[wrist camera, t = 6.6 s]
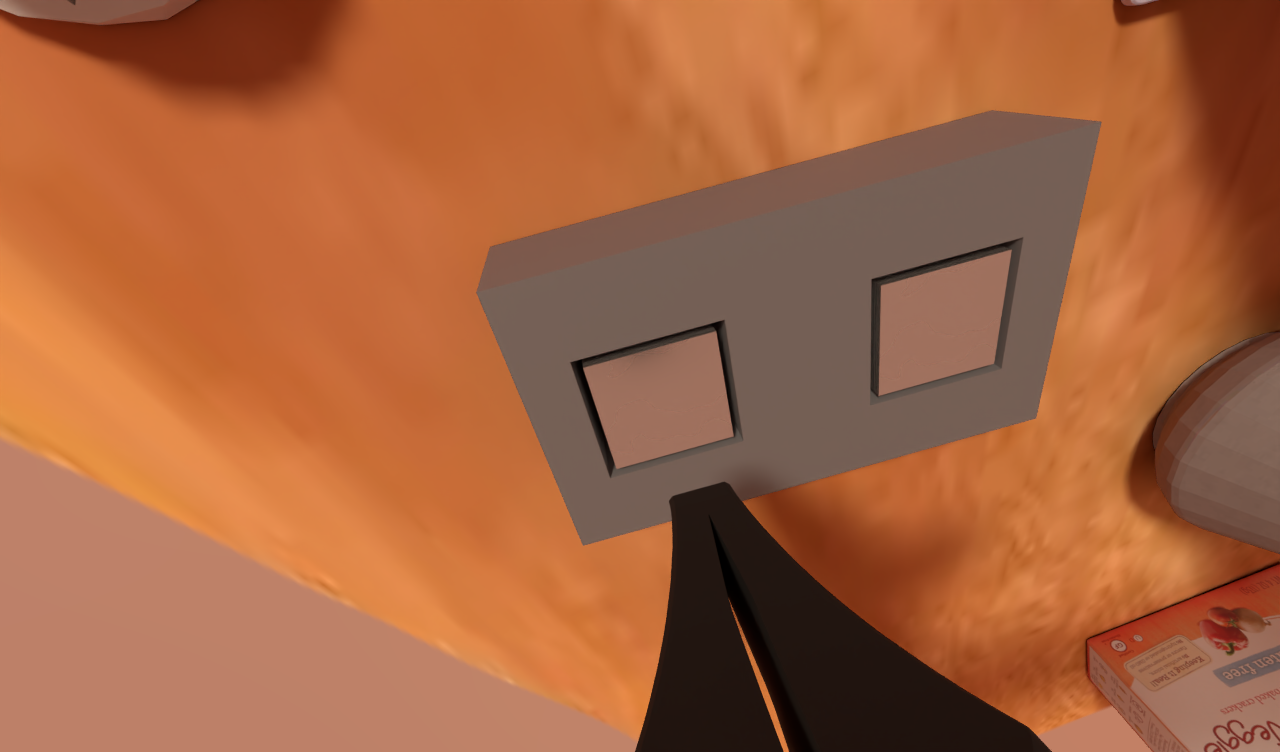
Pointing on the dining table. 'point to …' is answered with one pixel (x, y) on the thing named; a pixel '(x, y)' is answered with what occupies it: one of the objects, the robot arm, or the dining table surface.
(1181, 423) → the coffee pot
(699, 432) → the greyish pink cube
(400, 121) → the dining table surface
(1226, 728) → the cracker box
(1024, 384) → the block
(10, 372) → the dining table surface
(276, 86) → the dining table surface
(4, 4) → the mechanical component
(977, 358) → the pink matte cube
